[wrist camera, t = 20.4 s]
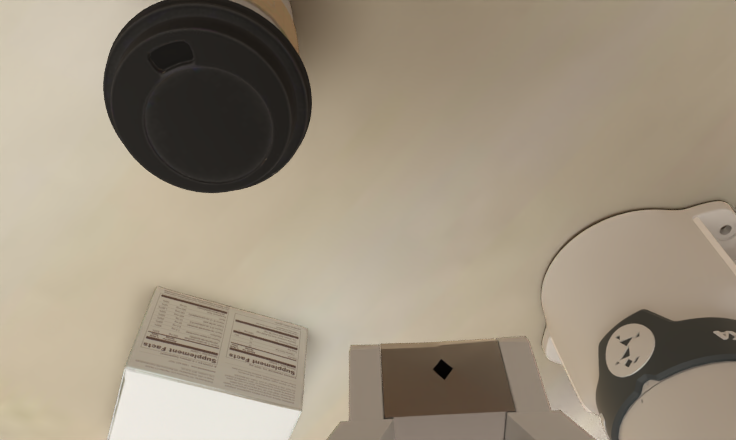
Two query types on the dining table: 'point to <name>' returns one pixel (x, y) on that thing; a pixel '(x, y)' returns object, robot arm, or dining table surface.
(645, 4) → the dining table surface
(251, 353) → the supplement box
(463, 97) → the dining table surface
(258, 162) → the coffee cup
